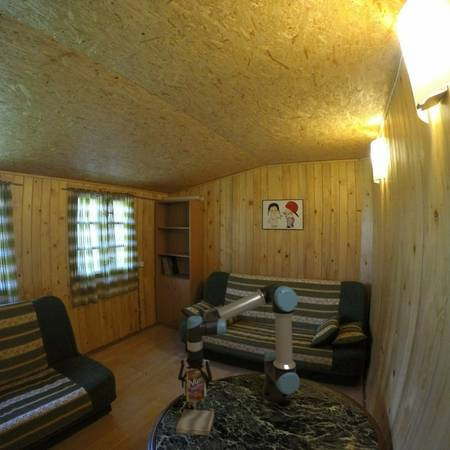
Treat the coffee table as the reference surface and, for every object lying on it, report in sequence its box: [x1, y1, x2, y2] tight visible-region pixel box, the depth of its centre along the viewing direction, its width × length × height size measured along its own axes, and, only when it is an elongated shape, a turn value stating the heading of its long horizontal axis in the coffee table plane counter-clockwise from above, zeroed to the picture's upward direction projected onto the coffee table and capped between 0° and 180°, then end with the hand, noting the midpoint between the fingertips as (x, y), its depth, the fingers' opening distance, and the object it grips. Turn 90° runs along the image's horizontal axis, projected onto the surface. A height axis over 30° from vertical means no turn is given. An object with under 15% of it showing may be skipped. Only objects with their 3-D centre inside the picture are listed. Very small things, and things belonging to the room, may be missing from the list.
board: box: [175, 408, 215, 436], centre depth 134 cm, size 16×14×2 cm
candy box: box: [185, 364, 206, 403], centre depth 135 cm, size 9×4×15 cm, turn 103°
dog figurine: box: [187, 400, 205, 410], centre depth 149 cm, size 5×13×11 cm, turn 147°
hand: (195, 394), depth 134 cm, fingers closed on candy box, 9 cm apart
